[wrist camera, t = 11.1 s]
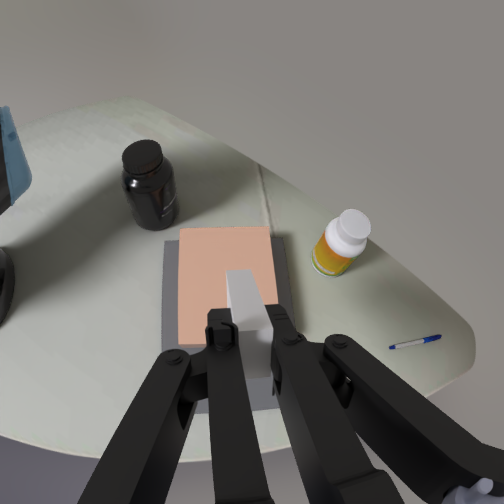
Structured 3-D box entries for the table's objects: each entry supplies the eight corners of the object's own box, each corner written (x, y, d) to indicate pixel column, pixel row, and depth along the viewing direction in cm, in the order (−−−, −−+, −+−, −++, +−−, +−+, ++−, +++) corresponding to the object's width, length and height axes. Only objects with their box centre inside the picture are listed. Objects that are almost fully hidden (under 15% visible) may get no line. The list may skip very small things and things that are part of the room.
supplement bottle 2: (336, 285, 36) (368, 253, 28) (303, 264, 37) (326, 226, 29) (350, 256, 39) (382, 220, 30) (320, 236, 40) (344, 195, 31)
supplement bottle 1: (181, 229, 38) (169, 169, 27) (134, 235, 37) (108, 179, 26) (178, 191, 41) (169, 130, 30) (136, 197, 40) (116, 139, 29)
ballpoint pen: (438, 333, 35) (442, 332, 34) (439, 338, 34) (443, 337, 33) (387, 346, 33) (391, 345, 32) (388, 352, 33) (392, 351, 32)
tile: (282, 339, 29) (268, 226, 35) (178, 344, 27) (180, 228, 34) (276, 343, 32) (264, 239, 38) (182, 348, 30) (183, 241, 36)
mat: (302, 404, 29) (304, 404, 28) (165, 412, 27) (164, 413, 26) (281, 240, 39) (282, 237, 38) (165, 243, 37) (164, 240, 36)
